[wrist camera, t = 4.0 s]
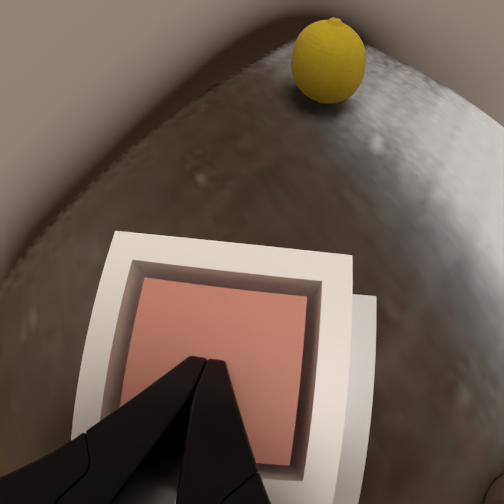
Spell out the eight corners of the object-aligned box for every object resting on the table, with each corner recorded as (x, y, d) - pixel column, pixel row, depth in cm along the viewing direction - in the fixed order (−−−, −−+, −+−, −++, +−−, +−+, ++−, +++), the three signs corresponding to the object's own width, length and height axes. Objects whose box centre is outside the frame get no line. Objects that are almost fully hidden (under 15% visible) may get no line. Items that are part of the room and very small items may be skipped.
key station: (330, 587, 9) (373, 673, 1) (90, 549, 10) (7, 603, 2) (371, 300, 17) (454, 219, 9) (125, 273, 17) (46, 181, 9)
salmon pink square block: (279, 445, 9) (289, 465, 6) (151, 425, 9) (116, 434, 7) (293, 322, 11) (307, 296, 8) (170, 306, 11) (144, 277, 8)
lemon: (366, 113, 23) (391, 32, 16) (315, 131, 22) (332, 39, 15) (325, 78, 25) (337, 3, 18) (274, 93, 24) (278, 9, 17)
